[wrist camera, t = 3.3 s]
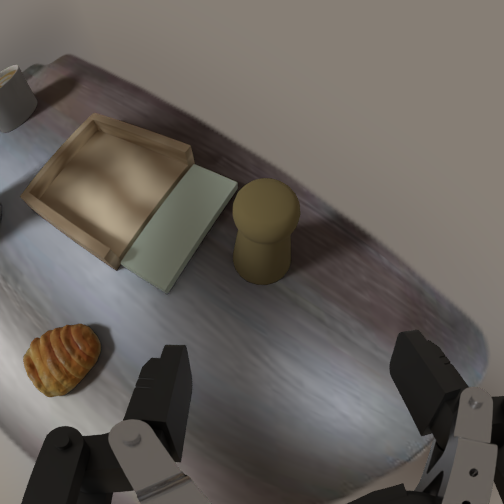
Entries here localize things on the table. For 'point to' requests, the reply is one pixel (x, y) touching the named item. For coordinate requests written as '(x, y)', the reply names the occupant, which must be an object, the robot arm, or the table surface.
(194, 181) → the panel
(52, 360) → the pastry
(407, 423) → the table surface
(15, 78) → the coffee mug
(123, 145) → the tray
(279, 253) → the cork
